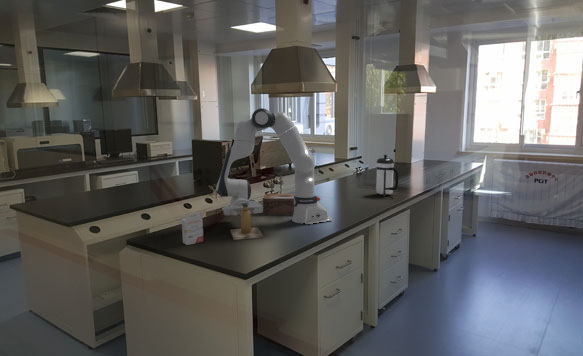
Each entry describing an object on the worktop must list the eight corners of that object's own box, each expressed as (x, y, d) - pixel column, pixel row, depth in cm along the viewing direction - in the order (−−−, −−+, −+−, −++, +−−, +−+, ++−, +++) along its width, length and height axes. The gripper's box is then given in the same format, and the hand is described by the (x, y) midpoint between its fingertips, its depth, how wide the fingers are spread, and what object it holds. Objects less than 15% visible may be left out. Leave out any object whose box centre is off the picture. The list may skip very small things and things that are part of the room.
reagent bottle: (249, 230, 203) (249, 202, 201) (251, 233, 199) (250, 204, 197) (240, 231, 202) (239, 202, 200) (241, 233, 198) (241, 205, 195)
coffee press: (372, 196, 291) (373, 155, 286) (374, 192, 306) (376, 153, 301) (397, 197, 286) (399, 156, 281) (398, 193, 301) (399, 153, 296)
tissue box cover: (263, 214, 241) (262, 198, 240) (265, 209, 256) (265, 193, 254) (305, 214, 240) (305, 198, 239) (306, 209, 255) (305, 193, 253)
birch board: (257, 229, 209) (257, 227, 209) (262, 237, 196) (262, 234, 196) (230, 231, 206) (230, 229, 205) (233, 239, 192) (233, 237, 192)
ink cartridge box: (199, 239, 194) (198, 209, 191) (203, 241, 190) (202, 211, 187) (182, 242, 189) (180, 212, 186) (186, 245, 185) (184, 214, 182)
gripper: (221, 202, 210) (224, 208, 197) (259, 200, 216) (265, 205, 202) (221, 214, 211) (224, 220, 198) (259, 211, 217) (265, 217, 203)
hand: (245, 213), depth 200 cm, fingers open, 8 cm apart
